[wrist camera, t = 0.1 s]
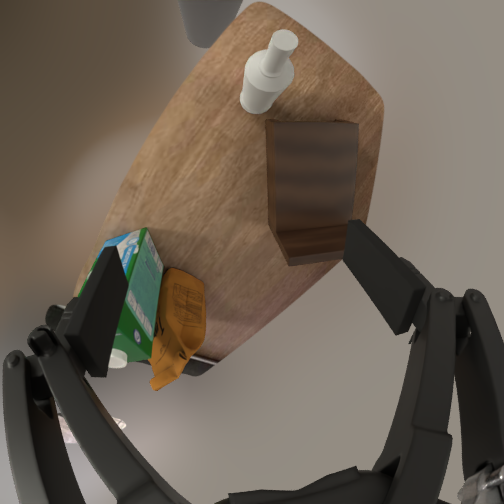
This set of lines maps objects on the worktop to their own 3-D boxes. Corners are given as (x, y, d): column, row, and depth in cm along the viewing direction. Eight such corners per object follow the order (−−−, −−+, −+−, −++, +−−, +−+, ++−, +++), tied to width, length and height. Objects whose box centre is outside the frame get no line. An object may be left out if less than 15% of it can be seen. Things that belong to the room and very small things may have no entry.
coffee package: (139, 297, 57) (124, 383, 38) (171, 258, 53) (161, 346, 35) (177, 318, 61) (175, 403, 43) (211, 283, 58) (219, 372, 39)
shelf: (265, 119, 43) (289, 128, 31) (342, 119, 44) (387, 131, 33) (268, 225, 53) (288, 266, 41) (337, 218, 55) (371, 254, 43)
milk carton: (124, 277, 54) (97, 379, 32) (105, 240, 49) (59, 337, 28) (164, 266, 54) (150, 372, 33) (146, 226, 49) (115, 326, 28)
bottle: (250, 80, 39) (273, 4, 16) (278, 96, 40) (329, 37, 17) (233, 104, 40) (237, 46, 17) (260, 121, 42) (296, 80, 18)
